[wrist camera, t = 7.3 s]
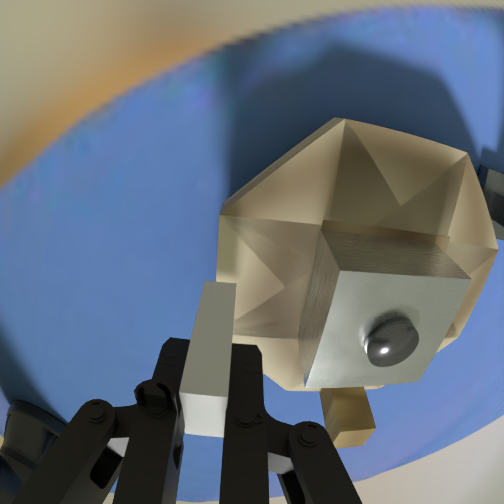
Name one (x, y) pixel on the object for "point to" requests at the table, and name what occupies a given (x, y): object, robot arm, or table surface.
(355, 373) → the cover
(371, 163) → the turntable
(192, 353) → the robot arm
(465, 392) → the table surface
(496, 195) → the dial post
